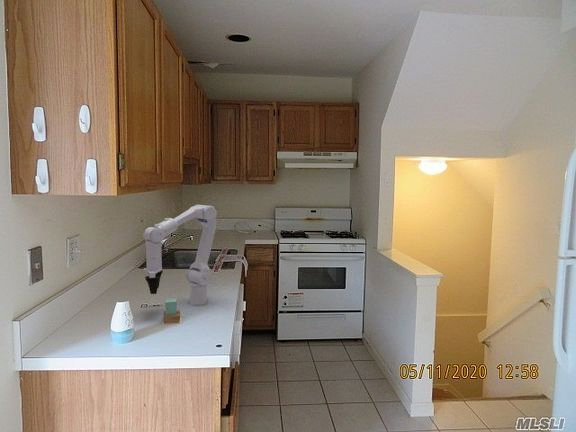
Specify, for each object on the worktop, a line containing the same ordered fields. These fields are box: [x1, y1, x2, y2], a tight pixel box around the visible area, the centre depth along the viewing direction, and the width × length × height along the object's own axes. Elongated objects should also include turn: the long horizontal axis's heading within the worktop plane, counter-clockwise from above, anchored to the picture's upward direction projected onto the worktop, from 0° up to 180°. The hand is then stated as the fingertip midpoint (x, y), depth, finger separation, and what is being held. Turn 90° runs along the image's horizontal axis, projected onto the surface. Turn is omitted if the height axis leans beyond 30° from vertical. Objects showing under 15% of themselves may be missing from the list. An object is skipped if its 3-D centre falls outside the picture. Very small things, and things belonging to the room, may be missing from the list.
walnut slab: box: [162, 309, 181, 325], centre depth 153 cm, size 6×6×3 cm
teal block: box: [164, 298, 178, 315], centre depth 152 cm, size 4×4×5 cm
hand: (154, 290), depth 158 cm, fingers open, 7 cm apart
